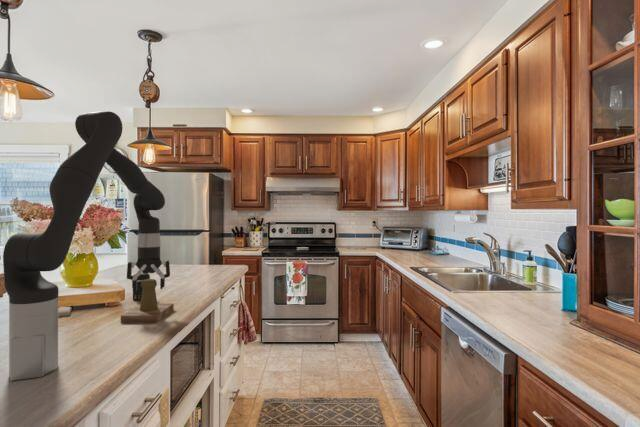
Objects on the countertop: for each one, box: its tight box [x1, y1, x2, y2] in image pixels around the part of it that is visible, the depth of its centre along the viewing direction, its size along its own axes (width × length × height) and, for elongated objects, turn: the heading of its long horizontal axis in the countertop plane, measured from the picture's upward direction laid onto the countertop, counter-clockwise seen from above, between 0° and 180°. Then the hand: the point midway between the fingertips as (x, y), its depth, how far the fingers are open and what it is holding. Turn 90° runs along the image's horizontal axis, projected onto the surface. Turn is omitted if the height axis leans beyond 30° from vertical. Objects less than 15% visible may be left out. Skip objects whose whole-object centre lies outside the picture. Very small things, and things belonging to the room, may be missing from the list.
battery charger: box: [132, 273, 151, 301], centre depth 155 cm, size 7×4×11 cm, turn 111°
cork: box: [139, 278, 158, 312], centre depth 131 cm, size 6×6×11 cm
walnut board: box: [120, 303, 175, 324], centre depth 131 cm, size 16×12×2 cm
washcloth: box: [58, 306, 73, 318], centre depth 135 cm, size 12×18×3 cm, turn 33°
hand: (148, 289), depth 131 cm, fingers open, 8 cm apart
